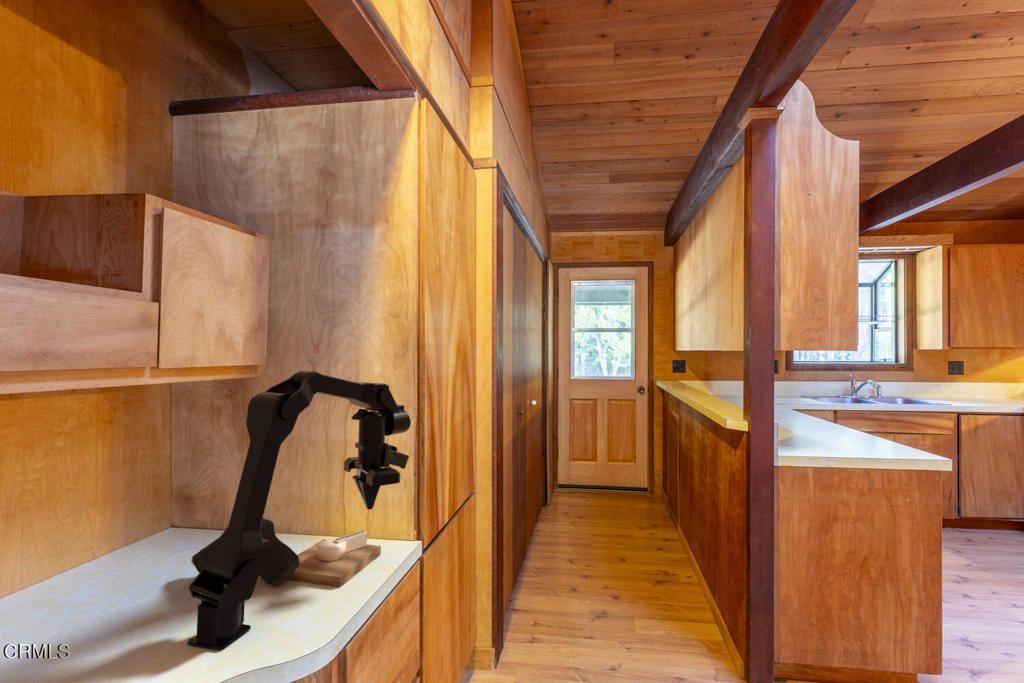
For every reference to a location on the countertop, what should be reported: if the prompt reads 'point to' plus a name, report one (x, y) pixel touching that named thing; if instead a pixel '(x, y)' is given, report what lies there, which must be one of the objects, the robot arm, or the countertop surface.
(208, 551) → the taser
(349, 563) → the panel
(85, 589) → the countertop surface
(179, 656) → the countertop surface
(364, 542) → the cream elongated piece
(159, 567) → the countertop surface
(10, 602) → the countertop surface
